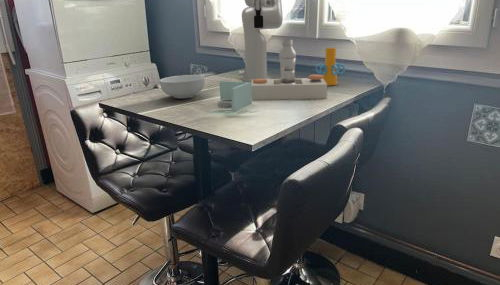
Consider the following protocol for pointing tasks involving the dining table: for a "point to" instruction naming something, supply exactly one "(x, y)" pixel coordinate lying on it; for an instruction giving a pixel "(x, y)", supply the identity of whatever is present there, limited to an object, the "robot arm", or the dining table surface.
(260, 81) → the chicken egg
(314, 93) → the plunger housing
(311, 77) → the brown egg
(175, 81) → the cereal bowl
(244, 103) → the right angle wall
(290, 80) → the gray metal bottle
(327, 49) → the orange post blue wheels
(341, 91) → the dining table surface
